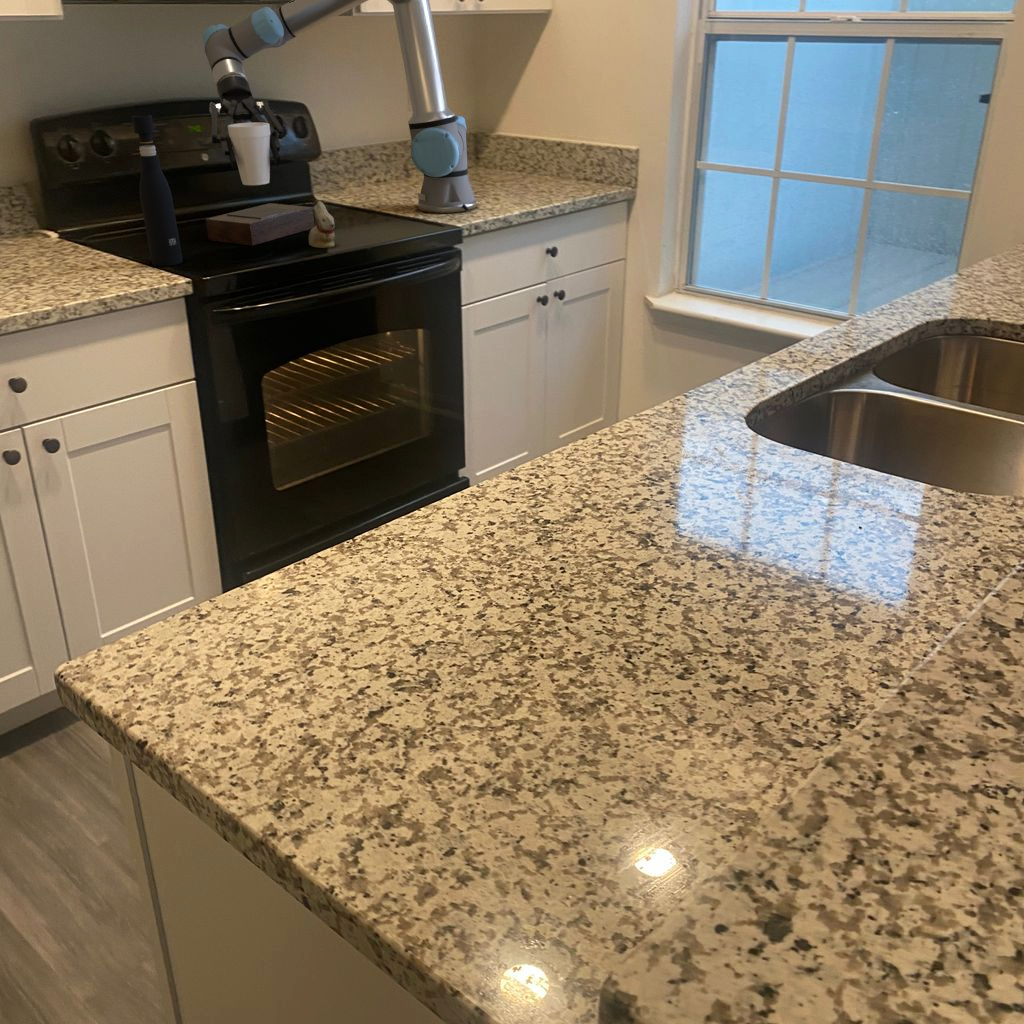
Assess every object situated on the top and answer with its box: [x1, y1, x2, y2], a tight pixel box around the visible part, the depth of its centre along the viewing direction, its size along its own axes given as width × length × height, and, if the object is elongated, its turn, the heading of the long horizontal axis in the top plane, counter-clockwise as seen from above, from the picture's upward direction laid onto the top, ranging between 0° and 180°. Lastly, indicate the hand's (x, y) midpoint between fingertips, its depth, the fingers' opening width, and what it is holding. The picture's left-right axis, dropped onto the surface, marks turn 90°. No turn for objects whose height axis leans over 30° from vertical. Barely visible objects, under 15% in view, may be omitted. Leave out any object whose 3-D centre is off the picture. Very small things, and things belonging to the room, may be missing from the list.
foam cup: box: [228, 122, 271, 186], centre depth 240 cm, size 10×9×13 cm
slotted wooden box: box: [205, 202, 316, 247], centre depth 247 cm, size 14×22×5 cm, turn 149°
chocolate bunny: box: [308, 200, 336, 249], centre depth 233 cm, size 6×8×10 cm
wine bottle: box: [131, 114, 184, 267], centre depth 216 cm, size 6×6×30 cm
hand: (256, 163), depth 238 cm, fingers closed on foam cup, 9 cm apart
